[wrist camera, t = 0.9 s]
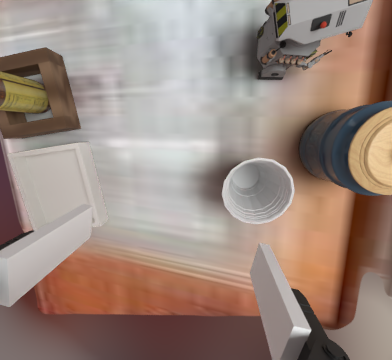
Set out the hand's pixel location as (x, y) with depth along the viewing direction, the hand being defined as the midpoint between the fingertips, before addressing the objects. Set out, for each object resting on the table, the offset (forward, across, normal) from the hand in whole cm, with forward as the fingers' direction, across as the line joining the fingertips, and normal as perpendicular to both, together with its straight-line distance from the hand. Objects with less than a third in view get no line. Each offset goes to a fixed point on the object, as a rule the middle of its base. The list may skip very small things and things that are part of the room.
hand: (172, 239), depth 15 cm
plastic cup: (+28, +10, +1) cm, 30 cm away
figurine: (+28, +11, +24) cm, 39 cm away
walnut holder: (+28, -35, +8) cm, 45 cm away
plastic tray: (+27, -29, -10) cm, 41 cm away
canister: (+28, +25, +10) cm, 39 cm away
